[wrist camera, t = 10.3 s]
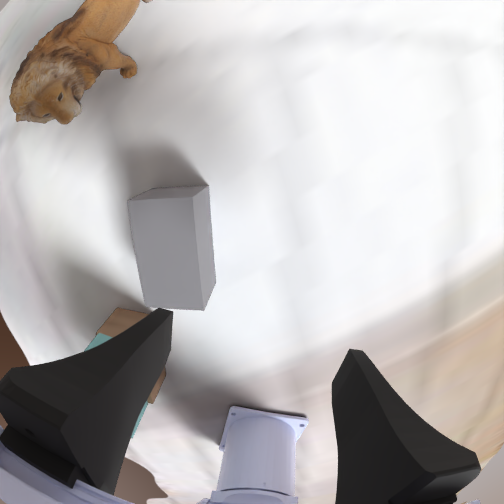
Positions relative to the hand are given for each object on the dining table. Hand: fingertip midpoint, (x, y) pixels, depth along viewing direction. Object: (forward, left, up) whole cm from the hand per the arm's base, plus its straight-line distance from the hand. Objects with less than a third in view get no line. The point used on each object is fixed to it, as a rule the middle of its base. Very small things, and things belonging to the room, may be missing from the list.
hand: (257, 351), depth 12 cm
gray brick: (0, +6, -10) cm, 12 cm away
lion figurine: (+14, +12, -10) cm, 21 cm away
